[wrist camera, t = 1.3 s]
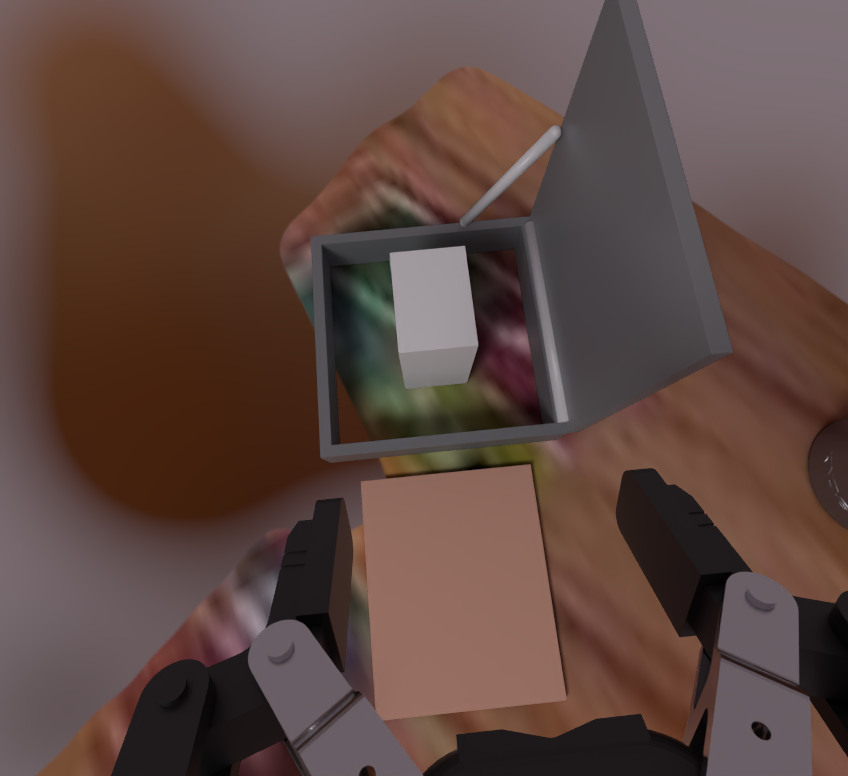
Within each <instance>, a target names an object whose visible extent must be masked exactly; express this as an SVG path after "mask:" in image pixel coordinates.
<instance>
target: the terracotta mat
mask: <svg viewBox="0 0 848 776" xmlns="http://www.w3.org/2000/svg"><path fill="white" fill-rule="evenodd" d="M361 492H362V507H363V523H364V538H365V554H366V569H367V585H368V600H369V616H370V631H371V647H372V662H373V677H374V693H375V708H376V712H377V713H378V715H379V716H380V717H381V719H382V720H391V719H400V718H409V717H419V716H428V715H437V714H446V713H455V712H464V711H473V710H483V709H492V708H501V707H510V706H519V705H528V704H538V703H547V702H556V701H565V700H567V698H566V692H565V685H564V679H563V672H562V666H561V659H560V653H559V646H558V640H557V633H556V627H555V620H554V613H553V607H552V600H551V594H550V587H549V581H548V574H547V568H546V561H545V555H544V548H543V542H542V535H541V529H540V522H539V516H538V509H537V503H536V496H535V490H534V483H533V477H532V470H531V464H528V465H518V466H508V467H498V468H488V469H479V470H469V471H459V472H449V473H439V474H429V475H419V476H409V477H399V478H389V479H379V480H371V481H361Z"/></svg>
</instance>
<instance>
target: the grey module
mask: <svg viewBox="0 0 848 776" xmlns="http://www.w3.org/2000/svg"><path fill="white" fill-rule="evenodd" d="M389 260H390V269H391V276H392V284H393V295H394V306H395V318H396V329H397V340H398V351H399V357H400V363H401V368H402V373H403V379H404V384H405V389H409V388H419V387H429V386H439V385H449V384H460V383H467V381H468V378H469V375H470V371H471V368H472V365H473V361H474V358H475V355H476V352H477V348H478V339H477V331H476V324H475V317H474V309H473V302H472V294H471V287H470V279H469V272H468V265H467V257H466V250H465V246H458V247H447V248H436V249H426V250H415V251H404V252H393V253H390V259H389Z"/></svg>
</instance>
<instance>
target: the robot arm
mask: <svg viewBox="0 0 848 776" xmlns="http://www.w3.org/2000/svg"><path fill="white" fill-rule="evenodd" d="M809 475H810V480H811V484H812V487H813V489H814V492H815V494H816V497H817V498H818V500H819V501H820V503H821V504H822V506H823V508H824V509H825V510H826V511H827V512H828V513H829V514H830V516H831V517H832V518H833V519H834V520H835V521H837V522H838V523H839V524H841V525H842V526H843V527H844V528H846V529H848V418H846V419H843V420H840V421H837V422H834V423H832V424H831V425H829V426H828V427H826V428H825V429H824V430H823V431H822V432H821V433H820V434H819V435H818V436H817V438H816V440H815V441H814V443H813V445H812V447H811V451H810V455H809ZM616 519H617V523H618V527H619V529H620V532H621V533H622V535H623V537H624V539H625V541H626V542H627V544H628V546H629V548H630V550H631V551H632V553H633V555H634V557H635V558H636V560H637V562H638V564H639V566H640V567H641V569H642V571H643V573H644V575H645V576H646V578H647V580H648V582H649V583H650V585H651V587H652V589H653V591H654V592H655V594H656V596H657V598H658V600H659V601H660V603H661V605H662V607H663V608H664V610H665V612H666V614H667V616H668V617H669V619H670V621H671V623H672V625H673V626H674V628H675V630H676V632H677V633H678V635H679V637H686V636H695V635H696V636H697V637H698V639H699V641H700V642H701V644H702V646H701V649H700V652H699V658H698V665H697V671H696V677H695V683H694V689H693V695H692V701H691V707H690V713H689V718H688V723H687V727H686V730H685V734H684V737H683V741H682V742H680V741H678V740H677V739H674V738H672V737H670V736H667V735H665V734H662V733H659V732H656V731H653V730H648V729H647V727H646V725H645V723H644V720H643V718H642V715H641V714H635V715H627V716H618V717H609V718H600V719H595V720H592V721H590V722H588V723H586V724H584V725H582V726H579V727H577V728H575V729H573V730H571V731H569V732H566V733H564V734H562V735H560V736H558V737H555V738H546V737H541V736H535V735H530V734H524V733H519V732H513V731H508V730H493V731H484V732H475V733H467V734H458V735H456V736H457V750H454V751H452V752H450V753H448V754H446V755H445V756H443V757H442V758H440V759H439V760H437V761H436V762H435V763H434V764H433V765H431V766H430V767H429V768H428V769H427V770H426V771H425V772H424V773H423V774H422V773H421V772H420V770H419V769H418V768H417V766H416V765H415V763H414V762H413V761H412V759H411V758H410V757H409V755H408V754H407V753H406V751H405V750H404V749H403V747H402V746H401V744H400V743H399V742H398V740H397V739H396V738H395V736H394V735H393V734H392V732H391V731H390V730H389V728H388V727H387V726H386V724H385V723H384V721H383V720H382V719H381V717H380V716H379V715H378V713H377V712H376V711H375V709H374V708H373V707H372V705H371V704H370V703H369V701H368V700H367V699H366V698H365V696H364V695H363V694H362V693H360V692H359V691H357V692H355V691H354V690H353V689H352V688H351V687H350V685H349V684H348V683H347V681H346V680H345V679H344V677H343V676H342V674H341V673H340V672H344V671H345V658H346V644H347V631H348V617H349V604H350V590H351V577H352V563H353V542H352V535H351V530H350V525H349V520H348V515H347V510H346V505H345V501H344V498H335V499H325V500H317V502H316V504H315V511H314V516H313V520H305V521H299V522H298V523H297V524H296V526H295V527H294V528H293V530H292V531H291V533H290V534H289V535H288V538H287V542H286V547H285V551H284V556H283V560H282V564H281V570H280V573H279V577H278V581H277V586H276V590H275V594H274V599H273V603H272V607H271V612H270V616H269V620H268V623H267V626H266V628H265V629H264V630H263V631H262V632H261V633H260V634H259V635H258V636H257V637H256V639H255V640H254V642H253V643H252V645H251V646H250V647H249V648H248V649H246V650H245V651H243V652H242V653H240V654H238V655H236V656H233V657H231V658H229V659H226V660H224V661H222V662H219V663H217V664H215V665H212V666H210V667H207V668H206V667H205V666H204V664H202V663H201V662H199V661H197V660H191V659H188V660H181V661H177V662H175V663H172V664H170V665H169V666H167V667H165V668H164V669H162V670H161V671H160V672H158V673H157V674H156V675H155V676H154V677H153V678H152V679H151V680H150V681H149V683H148V684H147V685H146V687H145V688H144V690H143V692H142V694H141V696H140V698H139V701H138V703H137V706H136V709H135V712H134V714H133V717H132V720H131V723H130V725H129V728H128V731H127V734H126V736H125V739H124V742H123V744H122V747H121V750H120V753H119V755H118V758H117V761H116V764H115V766H114V769H113V772H112V775H111V776H238V773H239V767H240V762H241V760H243V759H245V758H247V757H249V756H251V755H253V754H255V753H257V752H259V751H261V750H263V749H265V748H267V747H269V746H271V745H273V744H275V743H278V742H280V741H282V740H283V742H284V744H285V746H286V748H287V749H288V751H289V753H290V755H291V757H292V759H293V760H294V762H295V764H296V766H297V768H298V770H299V771H300V773H301V775H302V776H812V750H811V712H810V701H811V702H812V704H813V705H814V707H815V708H816V710H817V711H818V713H819V714H820V716H821V717H822V719H823V720H824V722H825V723H826V725H827V726H828V728H829V729H830V731H831V732H832V734H833V736H834V737H835V739H836V740H837V742H838V743H839V745H840V746H841V748H842V749H843V751H844V752H845V754H846V755H847V757H848V591H846V592H844V593H842V594H841V595H840V596H839V598H838V599H837V601H836V603H830V602H824V601H818V600H812V599H807V598H801V597H796V596H792V595H791V594H790V593H789V592H788V591H787V590H786V589H785V588H784V587H783V586H782V585H780V584H779V583H777V582H776V581H774V580H772V579H770V578H769V577H766V576H764V575H761V574H757V573H753V572H752V571H751V569H750V568H749V567H748V566H747V564H746V563H745V562H744V561H743V559H742V558H741V557H740V556H739V554H738V553H737V552H736V551H735V549H734V548H733V547H732V546H731V544H730V543H729V542H728V541H727V539H726V538H725V537H724V536H723V534H722V533H721V532H720V531H719V529H718V528H717V527H716V526H714V523H713V522H712V521H711V519H710V518H709V517H708V516H707V514H704V511H703V509H702V508H701V507H700V506H699V504H698V503H697V502H696V501H695V499H694V498H693V497H692V496H691V495H689V494H688V493H686V492H685V491H684V490H682V489H681V488H679V487H678V486H676V485H667V484H666V483H665V482H664V480H663V479H662V478H661V476H660V475H659V474H658V472H657V471H656V470H655V469H653V468H648V469H638V470H628V471H625V472H624V473H623V476H622V480H621V486H620V491H619V496H618V502H617V507H616Z"/></svg>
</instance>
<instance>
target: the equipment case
mask: <svg viewBox="0 0 848 776" xmlns="http://www.w3.org/2000/svg"><path fill="white" fill-rule="evenodd" d="M555 141H556V143H555V146H554V149H553V151H552V154H551V157H550V160H549V163H548V166H547V169H546V172H545V175H544V177H543V180H542V183H541V186H540V189H539V192H538V195H537V198H536V200H535V203H534V206H533V209H532V212H531V215H530V216H528V217H517V218H506V219H495V220H484V221H474V220H475V219H476V218H477V217H478V216H479V215H480V214H481V213H482V212H483V211H484V210H485V209H486V208H487V207H488V206H489V205H490V204H491V203H492V202H493V201H494V200H495V199H496V198H497V197H498V196H500V195H501V194H502V193H503V192H504V191H505V190H506V189H507V188H508V187H509V186H510V185H511V184H512V183H513V182H514V181H515V180H516V179H517V178H518V177H519V176H520V175H521V174H522V173H523V172H524V171H525V170H526V169H528V168H529V167H530V166H531V165H532V164H533V163H534V162H535V161H536V160H537V159H538V158H539V157H540V156H541V155H542V154H543V153H544V152H545V151H546V150H547V149H548V148H549V147H550V146H551V145H552V144H553V143H554V142H555ZM473 221H474V222H473ZM458 246H465V250H466V254H469V253H480V252H490V251H501V250H512V249H514V253H515V259H516V265H517V271H518V277H519V283H520V289H521V296H522V302H523V308H524V314H525V320H526V326H527V332H528V339H529V345H530V351H531V357H532V363H533V369H534V375H535V381H536V388H537V394H538V400H539V406H540V412H541V418H542V424H540V425H530V426H520V427H510V428H500V429H489V430H479V431H469V432H459V433H449V434H439V435H429V436H419V437H409V438H399V439H389V440H379V441H369V442H359V443H349V444H340V437H339V419H338V401H337V383H336V364H335V346H334V328H333V310H332V292H331V273H330V266H340V265H351V264H362V263H373V262H383V261H390V260H389V259H390V253H393V252H404V251H415V250H426V249H436V248H447V247H458ZM311 252H312V275H313V297H314V320H315V342H316V364H317V385H318V409H319V430H320V431H319V432H320V455H321V458H322V459H324V460H327V461H329V462H340V461H350V460H359V459H370V458H380V457H390V456H400V455H410V454H420V453H430V452H440V451H450V450H460V449H470V448H480V447H490V446H500V445H510V444H520V443H530V442H540V441H550V440H556V439H558V438H560V437H562V436H563V435H565V434H567V433H572V432H580V431H582V430H584V429H586V428H588V427H590V426H591V425H593V424H595V423H597V422H599V421H601V420H603V419H605V418H607V417H609V416H611V415H613V414H615V413H617V412H619V411H620V410H622V409H624V408H626V407H628V406H630V405H632V404H634V403H636V402H638V401H640V400H642V399H644V398H646V397H648V396H649V395H651V394H653V393H655V392H657V391H659V390H661V389H663V388H665V387H667V386H669V385H671V384H673V383H675V382H677V381H678V380H680V379H682V378H684V377H686V376H688V375H690V374H692V373H694V372H696V371H698V370H700V369H702V368H704V367H706V366H708V365H709V364H711V363H713V362H715V361H717V360H719V359H721V358H723V357H725V356H727V355H729V354H731V353H733V349H732V346H731V342H730V338H729V335H728V331H727V327H726V324H725V320H724V316H723V313H722V309H721V306H720V302H719V298H718V295H717V291H716V287H715V284H714V280H713V276H712V273H711V269H710V266H709V262H708V258H707V255H706V251H705V247H704V244H703V240H702V236H701V233H700V229H699V226H698V222H697V218H696V215H695V211H694V207H693V204H692V200H691V196H690V193H689V189H688V186H687V182H686V178H685V175H684V171H683V168H682V164H681V160H680V156H679V153H678V149H677V146H676V142H675V138H674V135H673V131H672V127H671V124H670V120H669V117H668V113H667V109H666V106H665V102H664V98H663V95H662V91H661V87H660V84H659V80H658V76H657V73H656V70H655V66H654V62H653V58H652V55H651V51H650V48H649V44H648V40H647V37H646V33H645V29H644V26H643V22H642V18H641V15H640V11H639V7H638V4H637V0H605V2H604V4H603V7H602V10H601V13H600V16H599V19H598V22H597V25H596V28H595V31H594V33H593V36H592V39H591V42H590V45H589V48H588V51H587V54H586V56H585V59H584V62H583V65H582V68H581V71H580V74H579V77H578V79H577V82H576V85H575V88H574V91H573V94H572V97H571V100H570V103H569V106H568V108H567V111H566V114H565V117H564V120H563V123H562V126H561V128H560V127H559V126H557V125H555V126H552V127H551V128H550V129H549V130H548V131H547V132H546V133H545V134H544V135H543V136H542V137H541V138H540V139H539V140H538V141H537V142H536V143H535V144H534V145H533V146H532V147H531V148H530V149H529V150H528V151H527V152H526V153H525V154H524V155H523V156H522V157H521V158H520V159H519V160H518V161H517V162H516V163H515V164H514V165H513V166H512V167H511V168H510V169H509V170H508V171H507V172H506V173H505V174H504V175H503V176H502V177H501V178H500V179H499V180H498V181H497V182H496V183H495V184H494V185H493V186H492V187H491V188H490V189H489V190H488V191H487V192H486V194H485V195H484V196H483V197H482V198H481V199H480V200H479V201H478V202H477V203H476V204H475V205H474V206H473V207H472V208H471V209H470V210H469V211H468V212H467V213H466V214H465V215H464V216H463V217H462V218H461V219H460V223H452V224H441V225H430V226H419V227H409V228H398V229H387V230H376V231H365V232H355V233H344V234H333V235H322V236H311Z"/></svg>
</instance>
